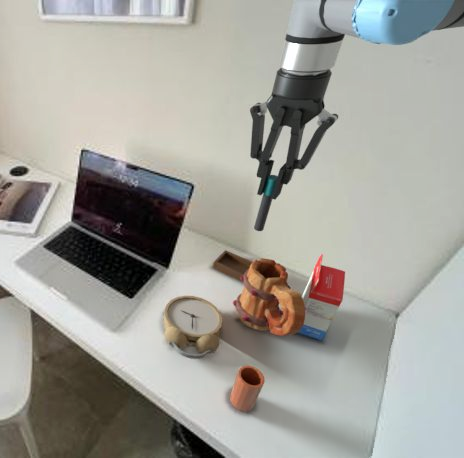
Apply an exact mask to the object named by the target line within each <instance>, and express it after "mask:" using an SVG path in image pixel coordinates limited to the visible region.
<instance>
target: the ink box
mask: <svg viewBox="0 0 464 458" xmlns="http://www.w3.org/2000/svg"><path fill="white" fill-rule="evenodd" d="M323 257H324V254H323V253H321V254H320V256H319V257H318V260H317V262H316V264H315V266H314V267H313V270H312V273H311V274H310V277H309V279H308V282H307V284H306V287H305V288H304V291H303V293H302V294H301V296H302V298H303V300H304V306H305V320H304V325H303V326H302V328H301V329H300V330H299V331H298V332H297V333H298V334H301V335H304V336H307V337H310V338H313V339H316V340H318V341H322V340H323V338H324V336H325V335H326V333H327V331H328V330H329V327H330V325H331V323H332V322H333V319H334V317H335V315H336V313H337V311H338V310H339V308H340V307H341V304H342V302H343V299H344V289H345V280H346V271H345V270H343V269H338V268H335V267H331V266H327V265H323V264H322V262H323Z"/></svg>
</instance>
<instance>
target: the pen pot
mask: <svg viewBox="0 0 464 458" xmlns="http://www.w3.org/2000/svg"><path fill="white" fill-rule="evenodd" d="M265 382H266V381H265V376H264V374H263V373H262V372H261V370H260V369H258V368H257V367H255V366H253V365H243V366H241V367H240V368H239V369H238V371H237V374H236V377H235V379H234V383H233V386H232V389H231V391H230V393H229V400H230V403H231V405H232V406H233V408H235V409H236V410H237V411H240V412H243V413H244V412H245V413H247V412H251V410H253V409H254V407H255V404H256V402H257V400H258V398H259V396H260V394H261V391H262V389H263V387H264V384H265Z"/></svg>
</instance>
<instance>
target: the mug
mask: <svg viewBox="0 0 464 458" xmlns="http://www.w3.org/2000/svg"><path fill="white" fill-rule="evenodd" d="M288 278H289V274H288V272H287V268H286V267H285V266H284V265H282V264H280V263H277V262H276V261H275V260H274V259H270V258H261V257H260V258H259V259H254V260H253V261H252V264H251V266H250V268H249V269H248V270H247V271H246V272H245V274H244V276H241V277H240V280H241V281H242V282H241V281H240V282H241V283H243V288H242V291H241V293H240V294H239V295H238V296H237V297H236V299H235V300H233V301H232V304H233V306H234V307H235V311H236V312H237V314H238V318H239V320H240V321H241V323H243V324H244V325H245V326H247V327H248V328H250V329H253V330H255V331H259V332H264V331H268V330H269V331H270V333H271V334H273V335H275V336H279V337H283V336H290V335H296V334H297V333H298V331H299V330H300V329H301V328H302V326H303V325H304V320H305V306H304V300H303V298H302V294H301V293H300V292H299V291H298V290H295V289H292V287H291V286H290V284H289V283H288Z"/></svg>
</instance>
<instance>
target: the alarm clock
mask: <svg viewBox="0 0 464 458" xmlns="http://www.w3.org/2000/svg"><path fill="white" fill-rule="evenodd" d="M163 315H164V316H163V327H164V329H165V331H164V334H163V335H164V339H165V341H166V343H167V345H169V346H170V347H172V348H173V349H174V350H175V351H176V352H177V353H178V354H179V355H181V356H182V357H185V358H187V359H191V360H192V359H193V360H199V359H202V358H205V357H206V356H207V355H211V354H214V353H215V352H216V351H217V350H218V349H219V347H220V339H219V337H220V333H221V328H222V323H223V317H222V313H221V311H219V309H218V308H217V306H215V305H214V304H213V303H212V302H210V301H209V300H207V299H205V298H202V297H199V296H195V295H179V296H177V297H174V298H172V299H170V300H169V302H167V304H166V305H165V308H164V314H163ZM186 346H188V347H191V348H195V349H196V350H197V352H198V353H199V354H193V353H188V352H185V351H183V350H182V349H183V348H185V347H186Z"/></svg>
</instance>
